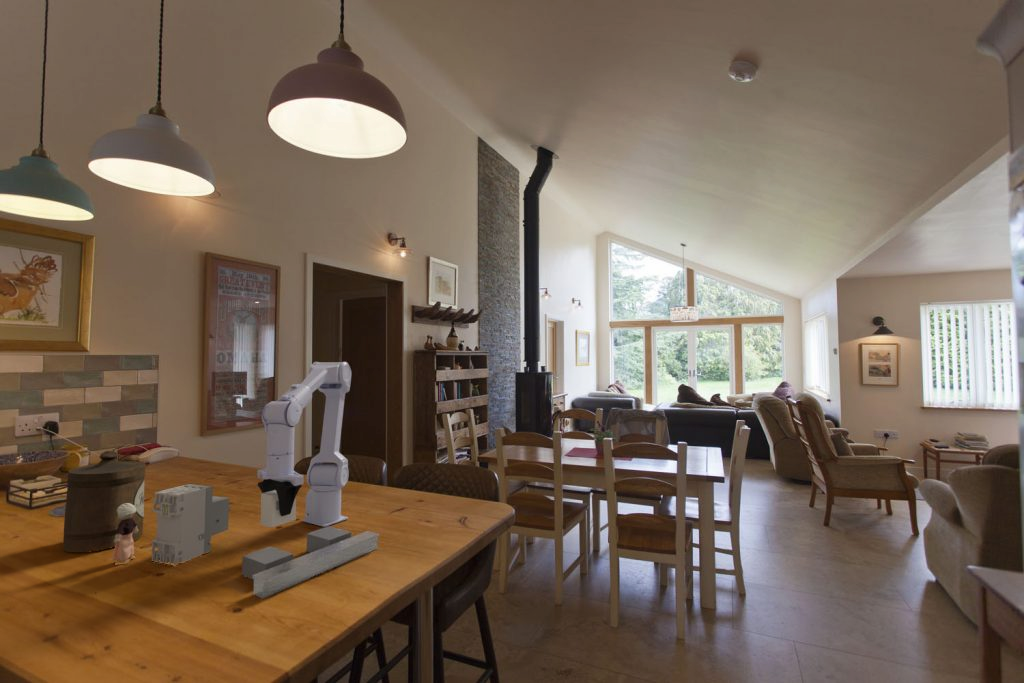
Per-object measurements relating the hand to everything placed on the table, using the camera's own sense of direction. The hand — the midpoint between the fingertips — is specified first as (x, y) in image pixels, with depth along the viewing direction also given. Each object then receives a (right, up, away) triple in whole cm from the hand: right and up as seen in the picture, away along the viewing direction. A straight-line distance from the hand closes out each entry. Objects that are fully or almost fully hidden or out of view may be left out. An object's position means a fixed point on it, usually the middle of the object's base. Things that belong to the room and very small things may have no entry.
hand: (279, 513), depth 109 cm
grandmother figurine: (-32, -9, -5) cm, 33 cm away
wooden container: (-47, -10, +7) cm, 48 cm away
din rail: (+13, -9, -8) cm, 18 cm away
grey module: (0, -2, 0) cm, 2 cm away
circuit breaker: (-20, -10, +1) cm, 22 cm away
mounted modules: (+7, -9, -5) cm, 12 cm away
